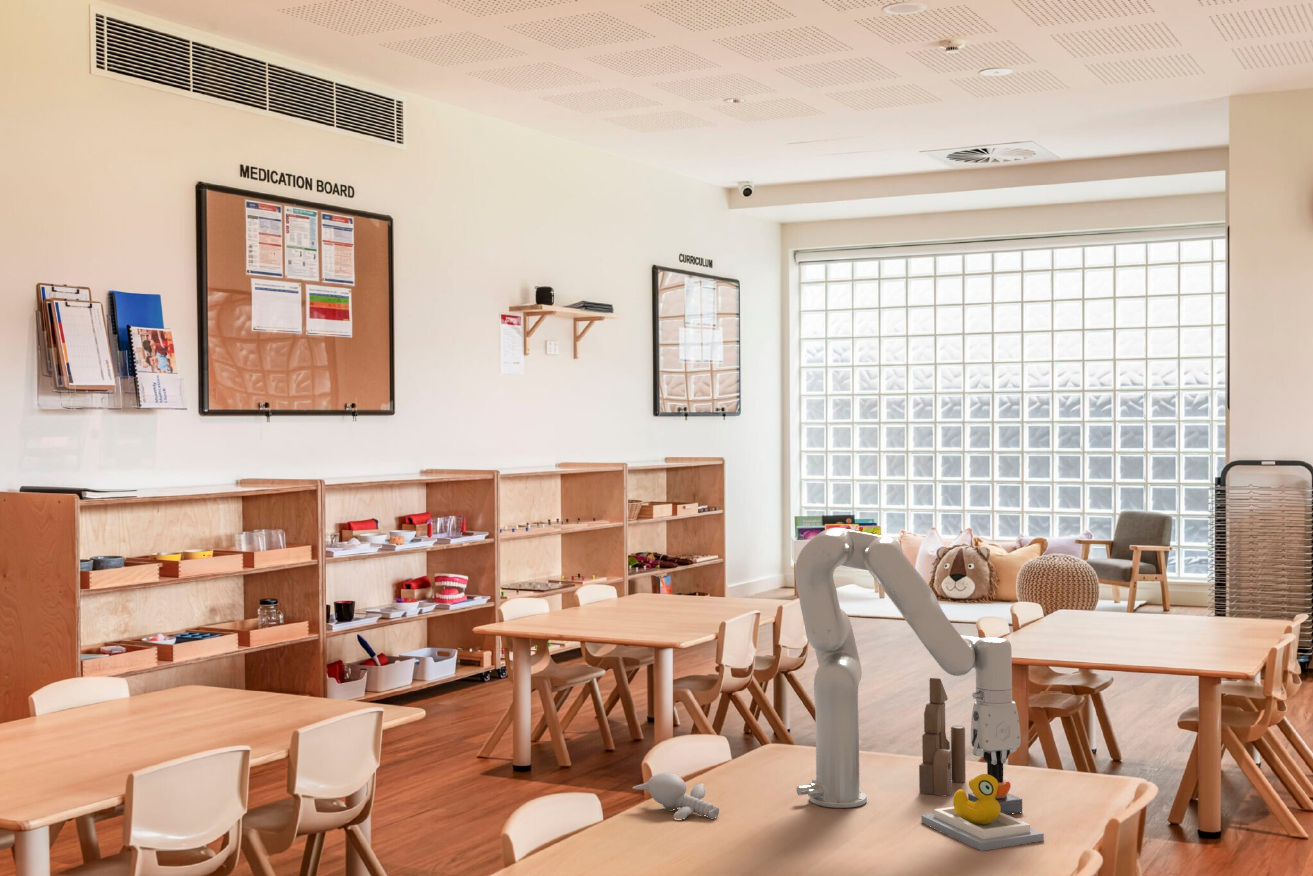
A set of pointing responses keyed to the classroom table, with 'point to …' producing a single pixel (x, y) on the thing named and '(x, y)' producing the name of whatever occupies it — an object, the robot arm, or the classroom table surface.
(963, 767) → the wooden toy
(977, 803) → the duckling
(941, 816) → the tray
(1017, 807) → the button base
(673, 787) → the toy creature
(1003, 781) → the button
